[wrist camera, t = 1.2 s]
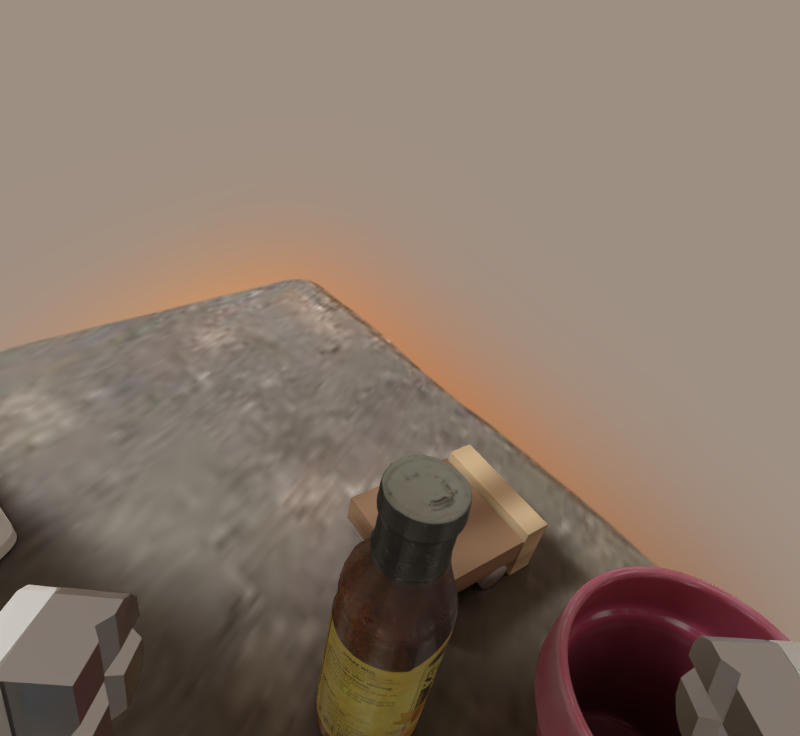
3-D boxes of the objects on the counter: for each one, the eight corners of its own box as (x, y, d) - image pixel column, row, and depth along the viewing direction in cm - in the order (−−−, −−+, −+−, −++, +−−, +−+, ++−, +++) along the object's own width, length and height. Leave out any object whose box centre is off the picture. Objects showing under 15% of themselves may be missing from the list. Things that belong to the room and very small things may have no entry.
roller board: (343, 535, 48) (352, 492, 45) (455, 485, 54) (469, 444, 51) (412, 633, 43) (426, 591, 40) (527, 564, 49) (547, 524, 46)
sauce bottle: (418, 769, 36) (518, 566, 24) (310, 769, 35) (357, 557, 23) (410, 658, 41) (489, 445, 29) (315, 655, 40) (356, 434, 28)
